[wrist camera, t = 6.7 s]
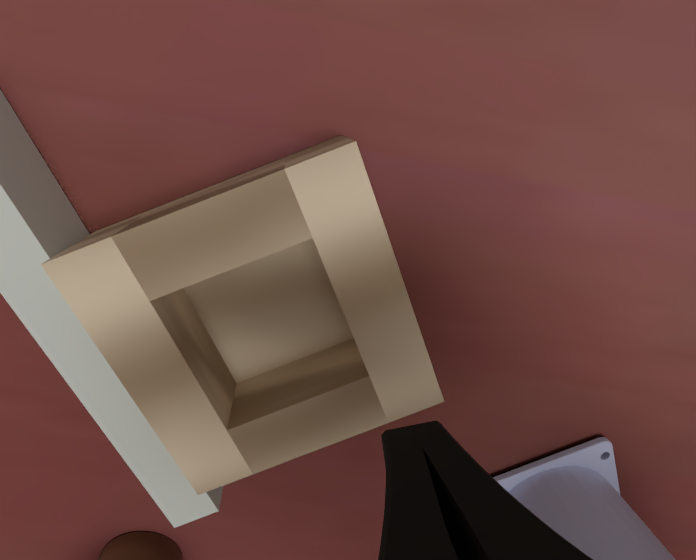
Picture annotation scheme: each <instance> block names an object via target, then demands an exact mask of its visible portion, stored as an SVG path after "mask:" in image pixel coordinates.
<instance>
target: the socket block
mask: <svg viewBox="0 0 696 560" xmlns="http://www.w3.org/2000/svg"><path fill="white" fill-rule="evenodd" d="M41 265H42V267H43V268H44V270H45V271H46V273H47V274H48V276H49V277H50V279H51V280H52V282H53V283H54V284H55V286H56V287H57V289H58V290H59V292H60V293H61V295H62V296H63V298H64V299H65V301H66V302H67V304H68V305H69V306H70V308H71V309H72V311H73V312H74V314H75V315H76V317H77V318H78V320H79V321H80V323H81V324H82V326H83V327H84V328H85V330H86V331H87V333H88V334H89V336H90V337H91V339H92V340H93V342H94V343H95V345H96V346H97V348H98V349H99V351H100V352H101V353H102V355H103V356H104V358H105V359H106V361H107V362H108V364H109V365H110V367H111V368H112V370H113V371H114V373H115V374H116V375H117V377H118V378H119V380H120V381H121V383H122V384H123V386H124V387H125V389H126V390H127V392H128V393H129V395H130V396H131V398H132V399H133V400H134V402H135V403H136V405H137V406H138V408H139V409H140V411H141V412H142V414H143V415H144V417H145V418H146V420H147V421H148V422H149V424H150V425H151V427H152V428H153V430H154V431H155V433H156V434H157V436H158V437H159V439H160V440H161V442H162V443H163V445H164V446H165V447H166V449H167V450H168V452H169V453H170V455H171V456H172V458H173V459H174V461H175V462H176V464H177V465H178V467H179V468H180V469H181V471H182V472H183V474H184V475H185V477H186V478H187V480H188V481H189V483H190V484H191V486H192V487H193V489H194V490H195V491H196V493H197V494H198V495H200V494H203V493H205V492H208V491H210V490H213V489H216V488H218V487H221V486H224V485H226V484H229V483H231V482H234V481H237V480H239V479H242V478H245V477H247V476H250V475H252V474H255V473H258V472H260V471H263V470H266V469H268V468H271V467H274V466H276V465H279V464H281V463H284V462H287V461H289V460H292V459H295V458H297V457H300V456H302V455H305V454H308V453H310V452H313V451H316V450H318V449H321V448H323V447H326V446H329V445H331V444H334V443H337V442H339V441H342V440H345V439H347V438H350V437H352V436H355V435H358V434H360V433H363V432H366V431H368V430H371V429H373V428H376V427H379V426H381V425H384V424H387V423H389V422H392V421H395V420H397V419H400V418H402V417H405V416H408V415H410V414H413V413H416V412H418V411H421V410H423V409H426V408H429V407H431V406H434V405H437V404H439V403H442V402H444V399H443V396H442V393H441V390H440V387H439V384H438V381H437V379H436V376H435V373H434V370H433V367H432V364H431V361H430V358H429V355H428V352H427V349H426V346H425V343H424V340H423V337H422V334H421V331H420V328H419V325H418V323H417V320H416V317H415V314H414V311H413V308H412V305H411V302H410V299H409V296H408V293H407V290H406V287H405V284H404V281H403V278H402V275H401V272H400V269H399V267H398V264H397V261H396V258H395V255H394V252H393V249H392V246H391V243H390V240H389V237H388V234H387V231H386V228H385V225H384V222H383V219H382V216H381V214H380V211H379V208H378V205H377V202H376V199H375V196H374V193H373V190H372V187H371V184H370V181H369V178H368V175H367V172H366V169H365V166H364V163H363V160H362V158H361V155H360V152H359V149H358V146H357V143H356V141H355V140H352V139H350V138H347V137H345V136H343V135H340V136H337V137H335V138H332V139H330V140H327V141H325V142H322V143H319V144H317V145H314V146H312V147H309V148H307V149H304V150H302V151H299V152H296V153H294V154H291V155H289V156H286V157H284V158H281V159H279V160H276V161H273V162H271V163H268V164H266V165H263V166H261V167H258V168H256V169H253V170H250V171H248V172H245V173H243V174H240V175H238V176H235V177H233V178H230V179H227V180H225V181H222V182H220V183H217V184H215V185H212V186H210V187H207V188H205V189H202V190H199V191H197V192H194V193H192V194H189V195H187V196H184V197H182V198H179V199H176V200H174V201H171V202H169V203H166V204H164V205H161V206H159V207H156V208H153V209H151V210H148V211H146V212H143V213H141V214H138V215H136V216H133V217H130V218H128V219H125V220H123V221H120V222H118V223H115V224H113V225H110V226H107V227H105V228H102V229H100V230H97V231H95V232H94V233H92V234H90V235H89V236H87V237H85V238H84V239H82V240H80V241H79V242H77V243H75V244H74V245H72V246H70V247H69V248H67V249H65V250H64V251H62V252H60V253H59V254H57V255H55V256H54V257H52V258H50V259H49V260H47V261H45V262H44V263H42V264H41Z"/></svg>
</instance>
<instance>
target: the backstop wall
mask: <svg viewBox="0 0 696 560" xmlns="http://www.w3.org/2000/svg"><path fill="white" fill-rule="evenodd" d="M89 235H90V234H89V232H88V231H87V229H86V227H85V226H84V224H83V222H82V221H81V219H80V218H79V216H78V214H77V213H76V211H75V209H74V208H73V206H72V205H71V203H70V201H69V200H68V198H67V197H66V195H65V193H64V192H63V190H62V188H61V187H60V185H59V184H58V182H57V180H56V179H55V177H54V175H53V174H52V172H51V171H50V169H49V167H48V166H47V164H46V162H45V161H44V159H43V158H42V156H41V154H40V153H39V151H38V149H37V148H36V146H35V145H34V143H33V141H32V140H31V138H30V136H29V135H28V133H27V132H26V130H25V128H24V127H23V125H22V124H21V122H20V120H19V119H18V117H17V115H16V114H15V112H14V111H13V109H12V107H11V106H10V104H9V102H8V101H7V99H6V98H5V96H4V94H3V93H2V91H1V89H0V293H1V294H2V296H3V297H4V298H5V300H6V301H7V302H8V304H9V305H10V306H11V308H12V309H13V310H14V312H15V313H16V314H17V316H18V317H19V319H20V320H21V321H22V323H23V324H24V325H25V327H26V328H27V329H28V331H29V332H30V333H31V335H32V336H33V337H34V339H35V340H36V342H37V343H38V344H39V346H40V347H41V348H42V350H43V351H44V352H45V354H46V355H47V356H48V358H49V359H50V360H51V362H52V363H53V364H54V366H55V367H56V369H57V370H58V371H59V373H60V374H61V375H62V377H63V378H64V379H65V381H66V382H67V383H68V385H69V386H70V387H71V389H72V390H73V392H74V393H75V394H76V396H77V397H78V398H79V400H80V401H81V402H82V404H83V405H84V406H85V408H86V409H87V410H88V412H89V413H90V415H91V416H92V417H93V419H94V420H95V421H96V423H97V424H98V425H99V427H100V428H101V429H102V431H103V432H104V433H105V435H106V436H107V437H108V439H109V440H110V442H111V443H112V444H113V446H114V447H115V448H116V450H117V451H118V452H119V454H120V455H121V456H122V458H123V459H124V460H125V462H126V463H127V465H128V466H129V467H130V469H131V470H132V471H133V473H134V474H135V475H136V477H137V478H138V479H139V481H140V482H141V483H142V485H143V486H144V488H145V489H146V490H147V492H148V493H149V494H150V496H151V497H152V498H153V500H154V501H155V502H156V504H157V505H158V506H159V508H160V509H161V510H162V512H163V513H164V515H165V516H166V517H167V519H168V520H169V521H170V523H171V524H172V525H173V527H174V528H175V527H178V526H181V525H183V524H186V523H189V522H191V521H194V520H196V519H199V518H202V517H204V516H207V515H210V514H212V513H215V512H218V511H219V507H220V501H221V496H222V490H223V486H221V487H218V488H216V489H213V490H210V491H208V492H205V493H203V494H200V495H198V494H197V493H196V491H195V490H194V489H193V487H192V486H191V484H190V483H189V481H188V480H187V478H186V477H185V475H184V474H183V472H182V471H181V469H180V468H179V467H178V465H177V464H176V462H175V461H174V459H173V458H172V456H171V455H170V453H169V452H168V450H167V449H166V447H165V446H164V445H163V443H162V442H161V440H160V439H159V437H158V436H157V434H156V433H155V431H154V430H153V428H152V427H151V425H150V424H149V422H148V421H147V420H146V418H145V417H144V415H143V414H142V412H141V411H140V409H139V408H138V406H137V405H136V403H135V402H134V400H133V399H132V398H131V396H130V395H129V393H128V392H127V390H126V389H125V387H124V386H123V384H122V383H121V381H120V380H119V378H118V377H117V375H116V374H115V373H114V371H113V370H112V368H111V367H110V365H109V364H108V362H107V361H106V359H105V358H104V356H103V355H102V353H101V352H100V351H99V349H98V348H97V346H96V345H95V343H94V342H93V340H92V339H91V337H90V336H89V334H88V333H87V331H86V330H85V328H84V327H83V326H82V324H81V323H80V321H79V320H78V318H77V317H76V315H75V314H74V312H73V311H72V309H71V308H70V306H69V305H68V304H67V302H66V301H65V299H64V298H63V296H62V295H61V293H60V292H59V290H58V289H57V287H56V286H55V284H54V283H53V282H52V280H51V279H50V277H49V276H48V274H47V273H46V271H45V270H44V268H43V267H42V265H41V264H42V263H44V262H45V261H47V260H49V259H50V258H52V257H54V256H55V255H57V254H59V253H60V252H62V251H64V250H65V249H67V248H69V247H70V246H72V245H74V244H75V243H77V242H79V241H80V240H82V239H84V238H85V237H87V236H89Z"/></svg>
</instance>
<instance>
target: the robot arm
mask: <svg viewBox="0 0 696 560" xmlns="http://www.w3.org/2000/svg"><path fill="white" fill-rule="evenodd" d="M381 436H382V444H383V451H384V458H385V465H386V494H385V511H384V521H383V529H382V538H381V546H380V553H379V559H378V560H676V559H675V558H674V557H673V556H672V555H671V553H670V552H669V551H668V550H667V549H666V548H665V547H664V545H663V544H662V543H661V542H660V541H659V540H658V538H657V537H656V536H655V535H654V534H653V533H652V531H651V530H650V529H649V528H648V527H647V526H646V525H645V523H644V522H643V521H642V520H641V519H640V518H639V516H638V515H637V514H636V513H635V512H634V511H633V509H632V508H631V507H630V506H629V505H628V504H627V503H626V501H625V500H624V499H623V498H622V497H621V496H620V489H619V483H618V477H617V471H616V465H615V459H614V452H613V446H612V443H611V442H610V441H609V440H608V439H607V438H605V437H599V438H596V439H593V440H591V441H588V442H585V443H583V444H580V445H577V446H575V447H572V448H570V449H567V450H564V451H562V452H559V453H556V454H554V455H551V456H548V457H546V458H543V459H540V460H538V461H535V462H532V463H530V464H527V465H524V466H522V467H519V468H516V469H514V470H511V471H508V472H506V473H503V474H501V475H498V476H495V477H492V476H491V475H489V474H488V473H487V472H486V471H485V470H484V469H483V468H482V467H481V466H480V465H479V464H478V463H477V462H476V461H475V460H474V459H473V458H472V457H471V456H470V455H469V454H468V453H467V452H466V451H465V450H464V449H463V448H462V447H461V446H460V444H459V443H458V442H457V441H456V440H455V439H454V438H453V437H452V436H451V435H450V434H449V432H448V431H447V430H446V429H445V428H444V427H443V426H442V424H441V423H439V422H438V421H432V422H426V423H421V424H416V425H411V426H406V427H401V428H396V429H391V430H386V431H385V432H384V433H383V434H382V435H381Z"/></svg>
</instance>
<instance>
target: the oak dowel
mask: <svg viewBox="0 0 696 560" xmlns="http://www.w3.org/2000/svg"><path fill="white" fill-rule="evenodd" d="M99 560H182V553H181V550H180V548H179V547H178V546H177V544H176V543H175V542H173V541H172V540H171V539H169V538H168V537H166V536H163V535H161V534H158V533H153V532H132V533H127V534H124V535H121V536H119V537H117V538H115V539H113V540H112V541H110V542H109V543H108V544H107V545H106V546H105V547H104V549H103V551H102V553H101V555H100V558H99Z"/></svg>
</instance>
